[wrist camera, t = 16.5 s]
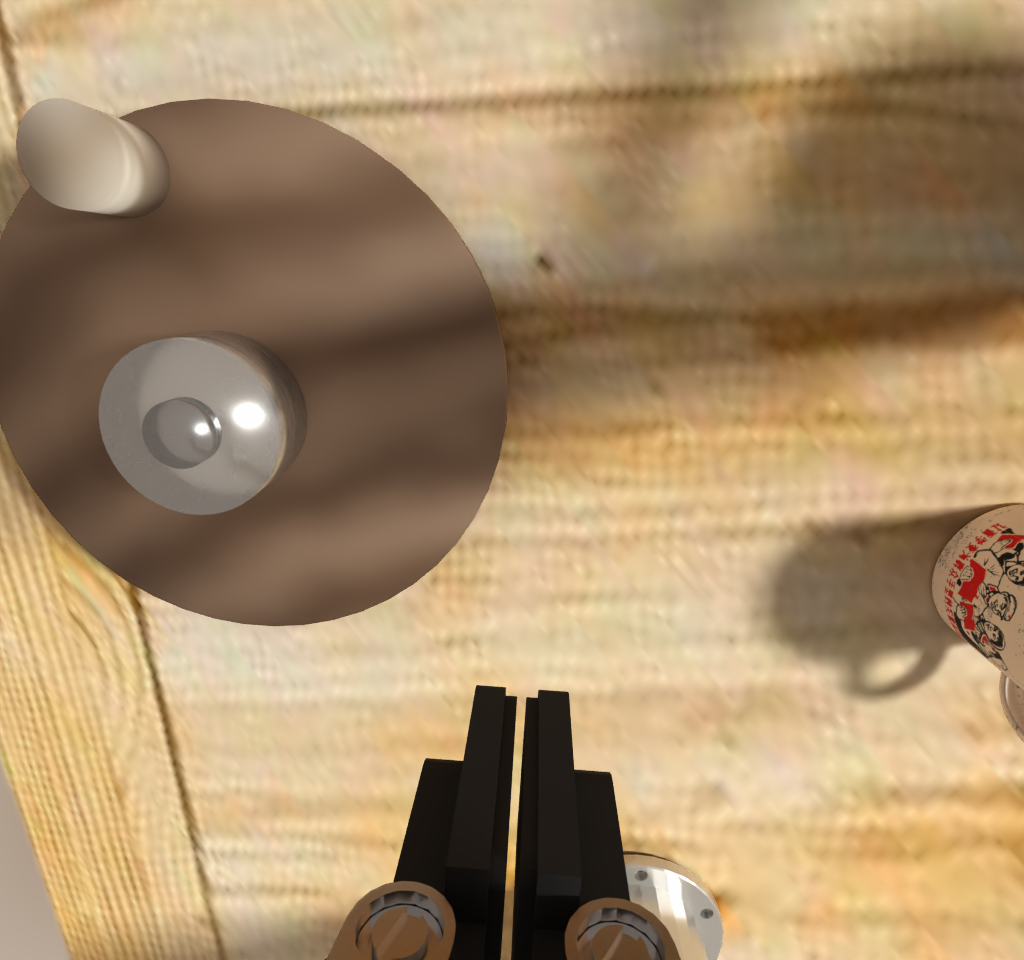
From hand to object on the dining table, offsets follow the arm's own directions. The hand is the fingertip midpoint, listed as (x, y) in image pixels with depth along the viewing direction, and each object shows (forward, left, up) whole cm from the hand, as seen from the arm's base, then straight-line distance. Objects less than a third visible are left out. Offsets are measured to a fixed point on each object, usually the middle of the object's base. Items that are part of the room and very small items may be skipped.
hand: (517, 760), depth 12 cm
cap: (+1, +15, -23) cm, 27 cm away
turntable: (+2, +14, -24) cm, 28 cm away
